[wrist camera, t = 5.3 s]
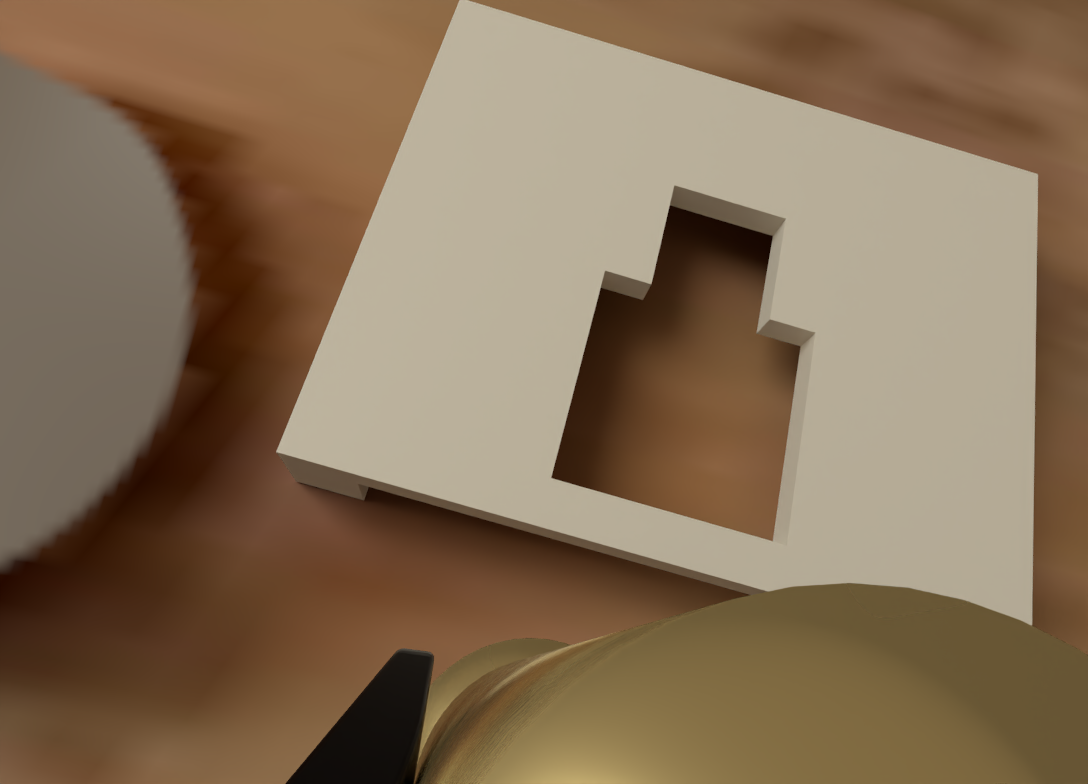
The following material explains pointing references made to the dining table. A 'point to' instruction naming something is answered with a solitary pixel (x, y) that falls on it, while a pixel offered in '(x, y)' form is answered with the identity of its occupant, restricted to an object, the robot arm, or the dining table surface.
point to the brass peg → (771, 698)
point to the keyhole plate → (627, 268)
